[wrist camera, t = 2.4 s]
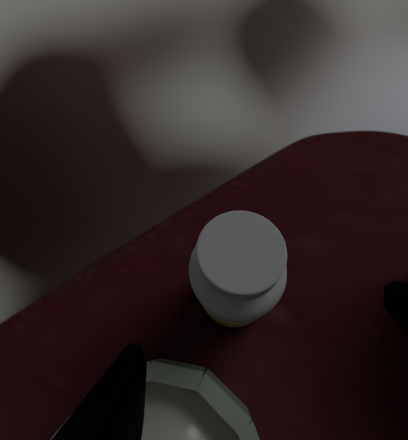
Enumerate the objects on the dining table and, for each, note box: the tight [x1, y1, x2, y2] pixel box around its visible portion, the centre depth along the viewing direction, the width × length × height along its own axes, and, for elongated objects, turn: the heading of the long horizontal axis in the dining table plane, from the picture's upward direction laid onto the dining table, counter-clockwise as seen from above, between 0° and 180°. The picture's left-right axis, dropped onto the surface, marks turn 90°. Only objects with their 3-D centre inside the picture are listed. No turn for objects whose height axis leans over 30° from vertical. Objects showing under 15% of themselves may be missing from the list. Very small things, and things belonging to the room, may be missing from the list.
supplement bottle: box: [189, 211, 287, 327], centre depth 14 cm, size 5×5×10 cm
